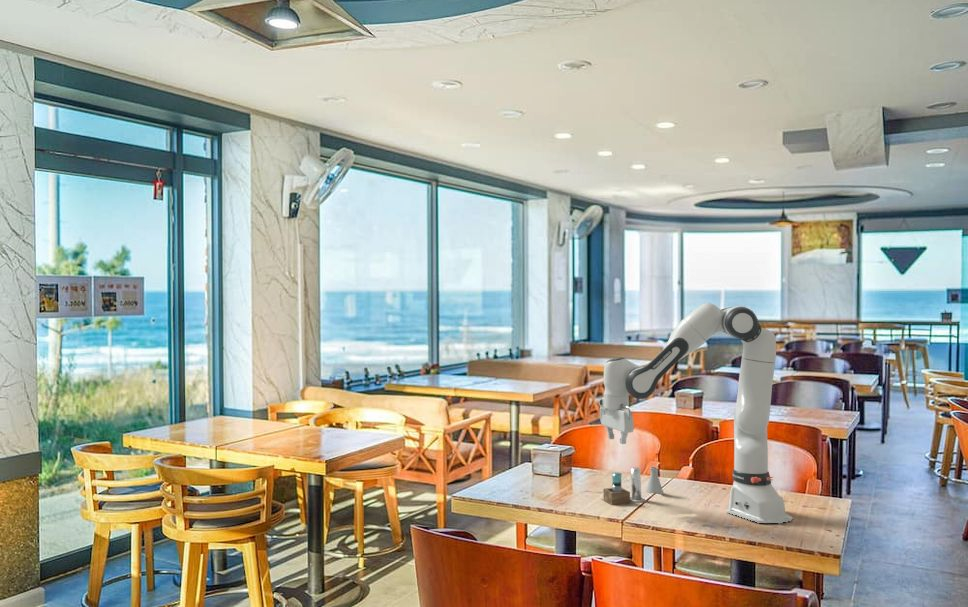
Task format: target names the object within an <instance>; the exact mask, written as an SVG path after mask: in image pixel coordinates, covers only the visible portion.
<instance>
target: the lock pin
mask: <svg viewBox="0 0 968 607" xmlns="http://www.w3.org/2000/svg"><path fill="white" fill-rule="evenodd" d="M641 481H642V479H641V468H640V467H636V466H635V467H631V468H630V484H631V497H632V499H633V500H641V499H642V498H643V497H642V482H641Z"/></svg>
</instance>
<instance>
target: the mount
mask: <svg viewBox="0 0 968 607" xmlns="http://www.w3.org/2000/svg"><path fill="white" fill-rule="evenodd" d="M641 498H642V499H641V500H633V499H632V496H631V492H630V491H628V490H627V489H625V488H623V487H621V492H614V493H613V492H612V487H608V488H603V498H602V499H601V501H604V503H607V504H608V505H610V506H621V505H632V504H642V503H643V504H644V503H650V501H648V500H647V499H644V498H643V497H641Z"/></svg>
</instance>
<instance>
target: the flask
mask: <svg viewBox="0 0 968 607" xmlns="http://www.w3.org/2000/svg"><path fill="white" fill-rule="evenodd" d="M649 469H650V475H649V480H648V482H647V484H646V488H645V490H644V492H646V493H647V494H653V495H654V494H659V495H660V496H663V495H664V493H665V492H664V490H663V487H662V484H661V480H660V478H659V471H658V470H659V469H660V468H659V467H658V466H650V467H649Z"/></svg>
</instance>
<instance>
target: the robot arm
mask: <svg viewBox="0 0 968 607" xmlns="http://www.w3.org/2000/svg"><path fill="white" fill-rule="evenodd" d="M758 319H759V318H758V317H757V315H756V313H755V312H754V311H753V310H751V309H750V308H748V307H746V306H742V305H735V306H730V307H725V308H722V309H720V308H719V307H718V306H717V305H715V304H713V303H710V302H706V303H702V304H701V305H699V306H697V307H696V308H695V309H694V310H692V311H691V312H690V313H688V314H687V315H686V316H685V317H684V318H683V319H681V321H680V322H678V323H677V325H676V326H675V327H674V329H673V330H672V332H671V333H670V335H669V337H668V341H667V343H666V344H665V346H664V347H663V348H662V350H661V351H660V352H659V353H657V355H655V356H654V358H653V359H651V361H650V362H649V363H648V364H646V365H645V366H641V365H638V364H636V363H634V362H632V361H630V360H628V359H627V358H626V357H622V356H621V357H615V358H611V359H609V360H607V361H606V362H605V363H604V366H603V385H604V390H603V397H601V398H600V399H599V400H598V405H599V406H600V407H599V420H600V423H601V425H603V426H604V427H605V428H606V432H607V438H608V439H609V440H614V439H615V433H614V430H616V431H619V432H620V438H619V443H620V444H622V445H625V444H627V438H628V436H629V433H633V432H634V429H635V425H634V423H635V422H634V415H633V412H632V410H631V409H630V399H629V396H631V397H633V398H635V399H639V400H643V399H647V398H649V397H651V396H652V395H653V393H654V391H655V390H656V387H657V385H658V383H659V382H660V381H659V380H660V379H661V378H662V377H663V376H665V374H666V373H667V372H668V371H669V370H671V369H672V368H673V366H674V365H675V364H677V362H679V361H681V360H682V359H683V358H685V357H687V356H688V355H691V353H693V352H695V351H696V350H698V349H699V348H700V347H702V346H703V345H704V344H705V343H706V342H707V341H708V340H709V339H710V338H711V337H712V336H713V335H715V334H716V333H719V332H723V333H725V334H727V335H728V336H730V337H732V338H736V339H739V340H740V341H741V343H742V354H741V362H740V368H739V369H740V370H739V376H738V384H737V396H736V404H735V406H734V408H733V438H734V439H733V441H734V442H733V445H734V446H733V448H734V450H733V452H734V454H733V459H734V460H733V461H734V462H733V464H734V465H733V466H734V468H732V480H733V483H732V486H731V488H730V492H729V500H728V501H729V503H728V508H726V511H725V512H726V514H729V513H730V514H729V515H732V514H733V516H735V515H737V516H736V517H738V516H739V517H738V518H741V517H742V518H741V519H744V518H745V519H744V520H747V519H748V520H747V521H750V520H751V521H750V522H752V521H755V522H757V523H756V524H759V523H778V524H784V523H783V522H786V523H789V522H788V521H790V522H792V521H793V520H794V518H793V516H791V515H790V514H788V513H787V512H786V506H785V504H786V503H785V501H784V498H783V497H782V496H781V495H780V494H779V493H778V492H777V490H776V489H775V488H774V486H773V485H772V481H773V478H774V477H773V476H771V475H770V472H769V471H768V470H769V467H768V466H769V463H768V462H769V456H768V454H769V448H768V446H769V445H768V444H769V443H768V425H769V423H770V416H771V405H772V404H771V403H772V391H773V381H774V373H775V367H776V359H777V340H776V338H777V337H776V336H775V333H774V332H772V330H769V329H768V328H764V327H763V328H762V327H761V324H760V322H759V320H758ZM792 519H793V520H792ZM791 520H792V521H791ZM755 522H754V523H755Z"/></svg>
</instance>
